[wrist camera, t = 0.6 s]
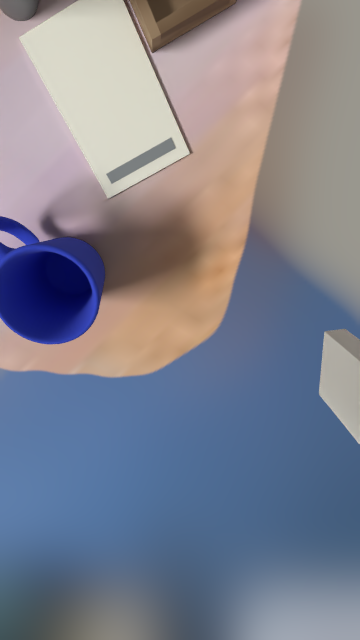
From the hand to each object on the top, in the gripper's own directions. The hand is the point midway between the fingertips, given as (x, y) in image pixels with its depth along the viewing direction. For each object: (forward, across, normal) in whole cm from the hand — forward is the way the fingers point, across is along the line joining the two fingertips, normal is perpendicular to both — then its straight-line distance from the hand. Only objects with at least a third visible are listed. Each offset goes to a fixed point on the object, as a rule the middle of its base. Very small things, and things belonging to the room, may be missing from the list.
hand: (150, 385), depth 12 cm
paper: (+25, -2, +14) cm, 29 cm away
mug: (+25, -9, +1) cm, 27 cm away
